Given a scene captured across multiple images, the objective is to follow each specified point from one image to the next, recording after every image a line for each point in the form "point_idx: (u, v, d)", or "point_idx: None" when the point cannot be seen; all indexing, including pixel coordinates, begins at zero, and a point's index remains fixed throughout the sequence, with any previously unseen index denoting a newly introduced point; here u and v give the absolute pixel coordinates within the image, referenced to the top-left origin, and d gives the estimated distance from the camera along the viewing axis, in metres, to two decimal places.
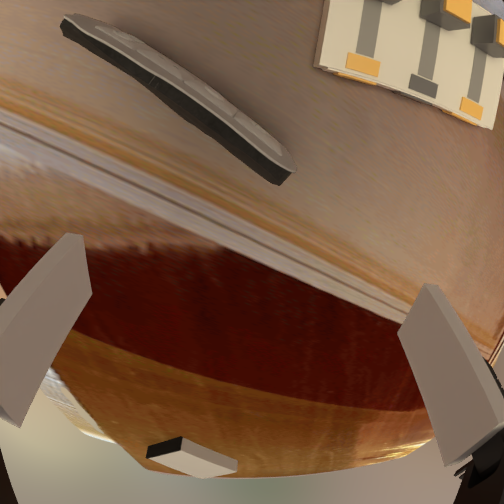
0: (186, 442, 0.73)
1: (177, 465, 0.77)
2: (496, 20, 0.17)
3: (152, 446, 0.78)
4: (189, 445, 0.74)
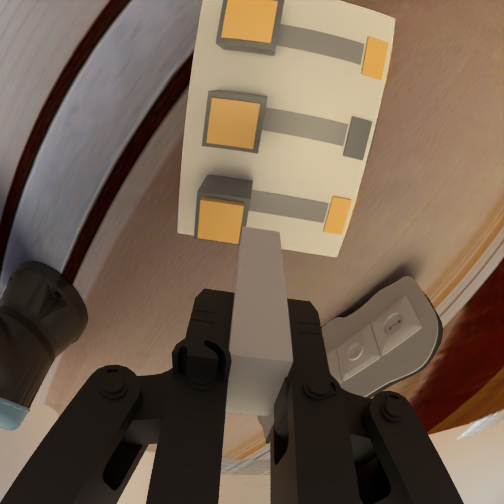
0: None
1: None
2: (226, 41, 0.17)
3: None
4: None
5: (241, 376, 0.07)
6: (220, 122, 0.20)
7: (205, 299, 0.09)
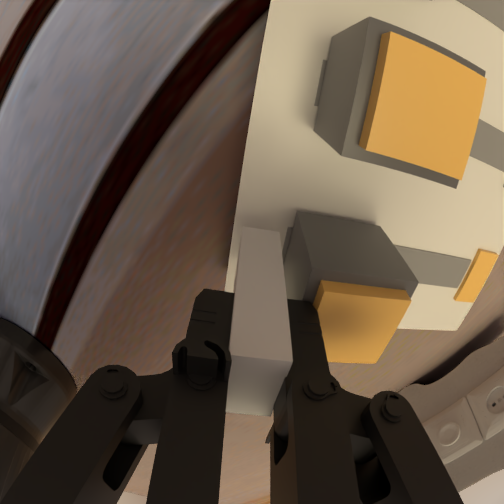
0: None
1: None
2: None
3: None
4: None
5: (241, 377, 0.07)
6: (406, 100, 0.06)
7: (205, 299, 0.09)
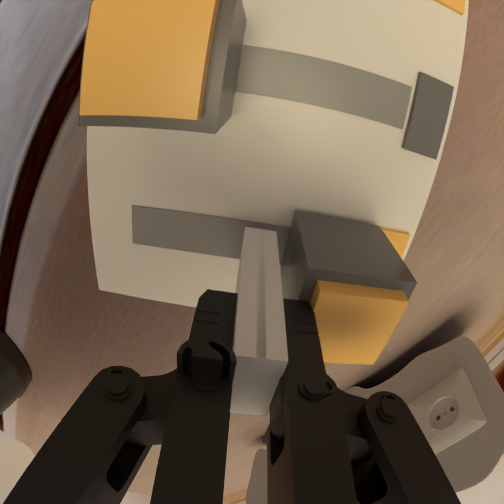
0: None
1: None
2: None
3: None
4: None
5: (245, 377, 0.07)
6: (108, 55, 0.06)
7: (208, 300, 0.09)
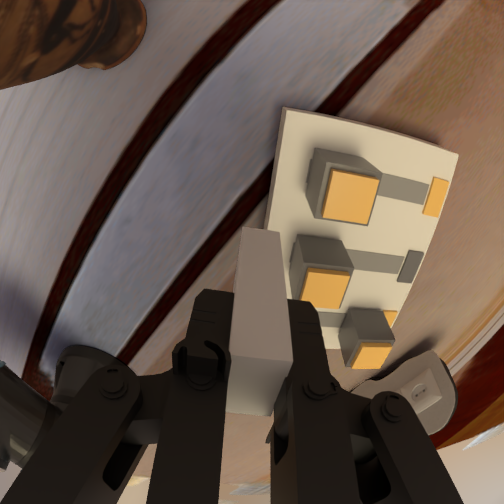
0: None
1: None
2: None
3: None
4: None
5: (241, 376, 0.07)
6: (313, 291, 0.23)
7: (205, 299, 0.09)
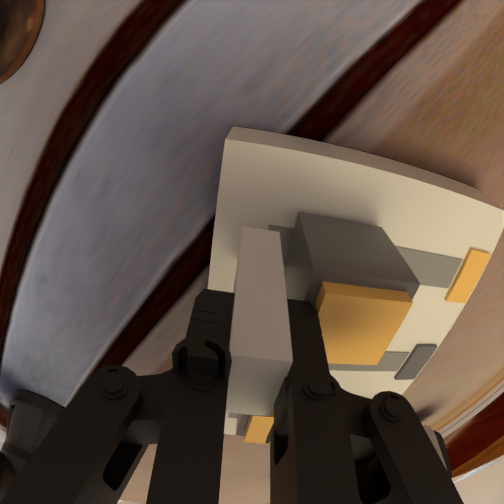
0: None
1: None
2: None
3: None
4: None
5: (242, 376, 0.07)
6: (262, 431, 0.14)
7: (205, 299, 0.09)
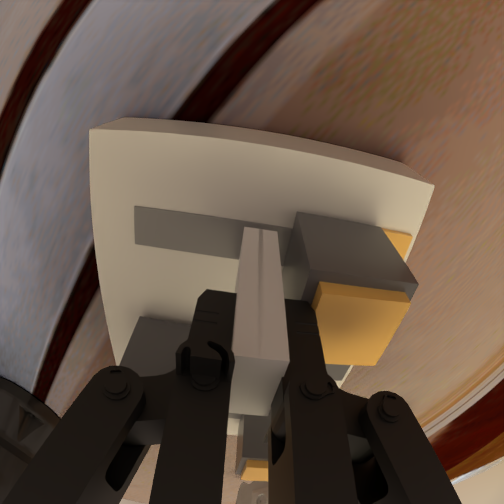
0: None
1: None
2: None
3: None
4: None
5: (244, 377, 0.07)
6: None
7: (207, 299, 0.09)
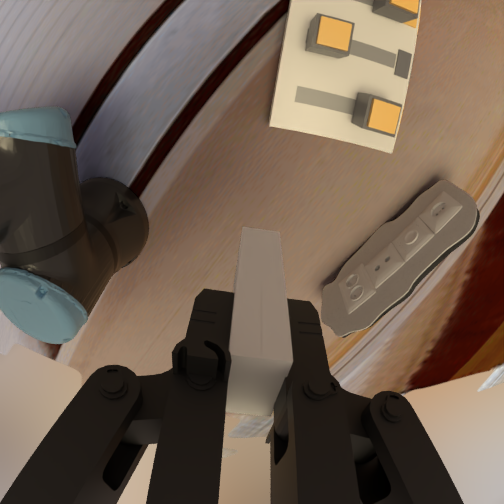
0: None
1: None
2: (391, 5, 0.22)
3: None
4: None
5: (241, 377, 0.07)
6: (326, 31, 0.24)
7: (205, 299, 0.09)
